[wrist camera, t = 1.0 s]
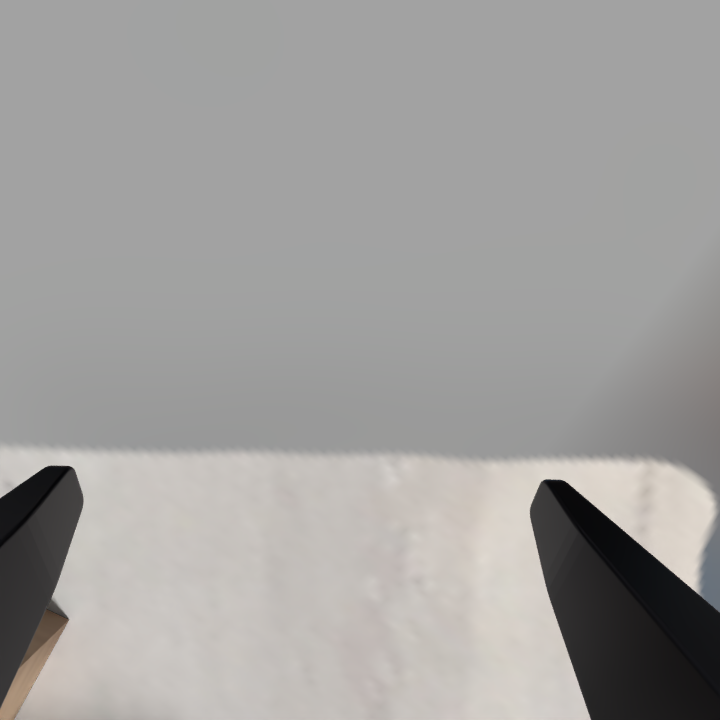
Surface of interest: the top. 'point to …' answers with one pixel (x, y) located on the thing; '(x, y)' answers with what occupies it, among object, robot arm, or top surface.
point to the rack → (33, 662)
